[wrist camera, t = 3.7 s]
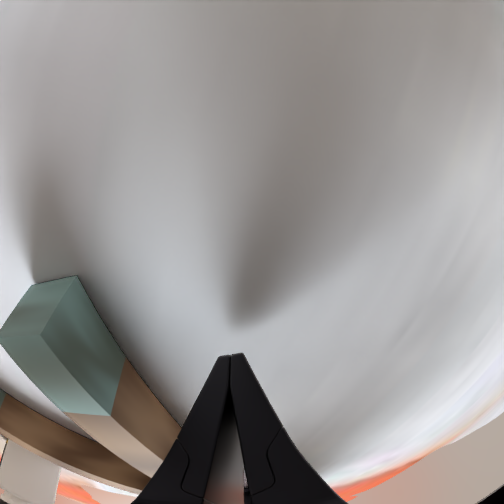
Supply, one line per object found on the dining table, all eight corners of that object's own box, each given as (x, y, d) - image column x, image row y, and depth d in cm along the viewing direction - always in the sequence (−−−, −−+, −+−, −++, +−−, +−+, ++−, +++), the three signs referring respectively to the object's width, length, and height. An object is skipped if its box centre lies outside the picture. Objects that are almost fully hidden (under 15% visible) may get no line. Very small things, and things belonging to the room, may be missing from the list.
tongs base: (231, 469, 18) (233, 512, 15) (194, 480, 20) (194, 517, 16) (-39, 341, 10) (-65, 385, 7) (-32, 374, 12) (-49, 411, 9)
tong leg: (212, 460, 16) (213, 494, 14) (180, 460, 17) (179, 493, 14) (76, 275, 8) (40, 334, 6) (31, 285, 8) (-5, 337, 6)
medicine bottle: (8, 434, 18) (-12, 516, 7) (62, 462, 20) (49, 546, 10) (13, 446, 20) (-3, 516, 10) (59, 470, 23) (48, 540, 13)
